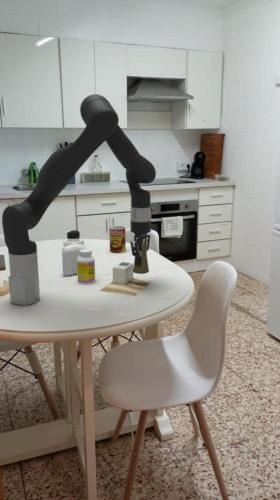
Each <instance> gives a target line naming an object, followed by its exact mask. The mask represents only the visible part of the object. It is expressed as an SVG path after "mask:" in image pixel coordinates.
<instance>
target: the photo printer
mask: <svg viewBox="0 0 280 500" xmlns="http://www.w3.org/2000/svg"><path fill="white" fill-rule="evenodd" d="M82 249H87V247H86V245H85V244H84V245H81V244H72V245H68V246H66V247H64V248H62V249H61V257H62V260H61V261H62V275H63V276H65V277H67V276H74V275H78V269H77V259H78V257H79V256H80V250H82Z"/></svg>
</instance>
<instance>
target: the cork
mask: <svg viewBox="0 0 280 500" xmlns="http://www.w3.org/2000/svg"><path fill="white" fill-rule="evenodd" d="M138 247H139V248H141V246H138ZM146 251H147V253H146ZM148 251H149V250H148V245H147V244H146V243H144V245H143V250H142V251H141V252H142V255H141V266H140V267H139V266H135V258H134V261H133V274H137V275H138V274H140V275H145V274H148V273H149V272H150V269H149V261H148V255H147V254H148Z"/></svg>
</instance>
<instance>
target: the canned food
mask: <svg viewBox="0 0 280 500" xmlns="http://www.w3.org/2000/svg"><path fill="white" fill-rule="evenodd" d="M109 252H110V253H111V254H123V253H125V252H127V251H126V227H125V226H122V225H113V226H110V227H109Z"/></svg>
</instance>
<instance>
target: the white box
mask: <svg viewBox="0 0 280 500" xmlns="http://www.w3.org/2000/svg"><path fill="white" fill-rule="evenodd" d="M133 266H134V262H133V263H132V262H126V261H125V262H124V261H123V262H122V261H121V262H119V263H118V264H116V265H115V266H114V265H113V267H112V281H113V283H119V284H126V283H127V282H129V281H130V280H131V279H134V272H133Z"/></svg>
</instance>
